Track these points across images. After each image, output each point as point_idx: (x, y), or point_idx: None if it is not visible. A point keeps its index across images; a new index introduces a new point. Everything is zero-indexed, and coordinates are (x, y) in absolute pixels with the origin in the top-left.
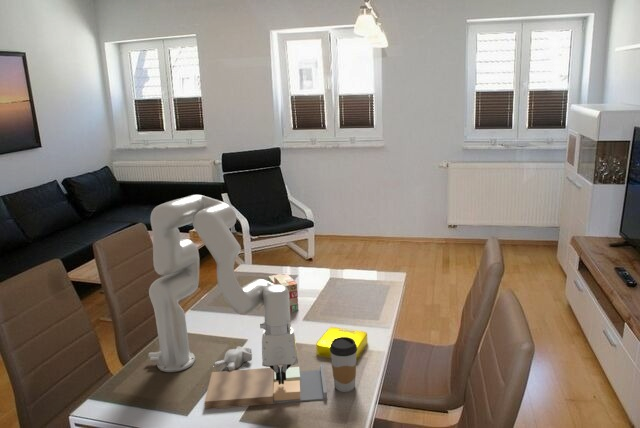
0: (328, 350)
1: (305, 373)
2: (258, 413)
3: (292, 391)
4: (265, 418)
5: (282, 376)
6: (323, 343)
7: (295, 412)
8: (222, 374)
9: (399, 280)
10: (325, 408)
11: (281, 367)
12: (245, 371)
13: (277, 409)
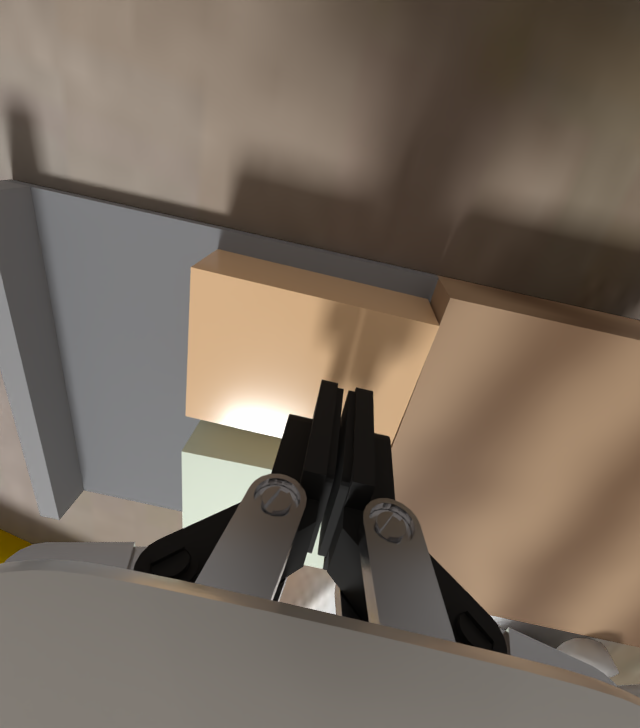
0: None
1: (167, 489)
2: (610, 179)
3: (260, 291)
4: (590, 64)
5: (321, 436)
6: None
7: (286, 68)
8: None
9: None
10: (9, 35)
11: (304, 559)
12: (518, 607)
13: (430, 181)
